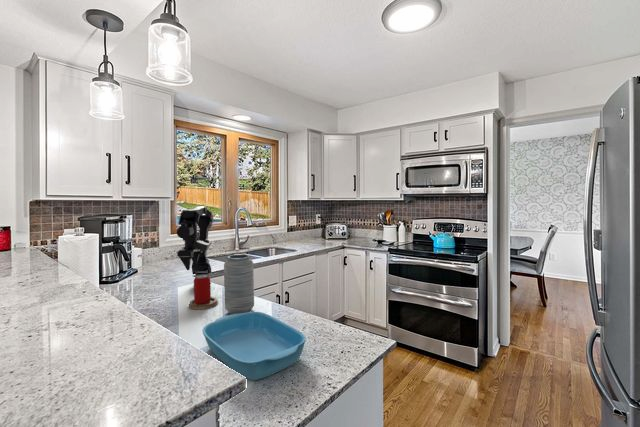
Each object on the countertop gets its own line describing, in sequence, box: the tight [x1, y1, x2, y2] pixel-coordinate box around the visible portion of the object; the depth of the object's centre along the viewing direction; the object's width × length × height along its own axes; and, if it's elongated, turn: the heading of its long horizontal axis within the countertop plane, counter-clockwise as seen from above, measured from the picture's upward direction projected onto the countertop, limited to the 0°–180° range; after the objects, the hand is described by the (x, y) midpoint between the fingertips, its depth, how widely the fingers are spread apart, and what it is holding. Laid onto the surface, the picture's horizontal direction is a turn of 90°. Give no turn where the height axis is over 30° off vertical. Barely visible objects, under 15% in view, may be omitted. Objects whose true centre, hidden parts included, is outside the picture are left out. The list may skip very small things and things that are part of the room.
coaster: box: [188, 296, 219, 311], centre depth 135 cm, size 12×12×2 cm
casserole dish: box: [202, 311, 307, 381], centre depth 93 cm, size 37×22×7 cm, turn 41°
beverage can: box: [193, 274, 212, 305], centre depth 135 cm, size 7×7×12 cm
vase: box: [223, 253, 255, 315], centre depth 126 cm, size 12×12×23 cm
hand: (191, 267), depth 149 cm, fingers open, 9 cm apart
